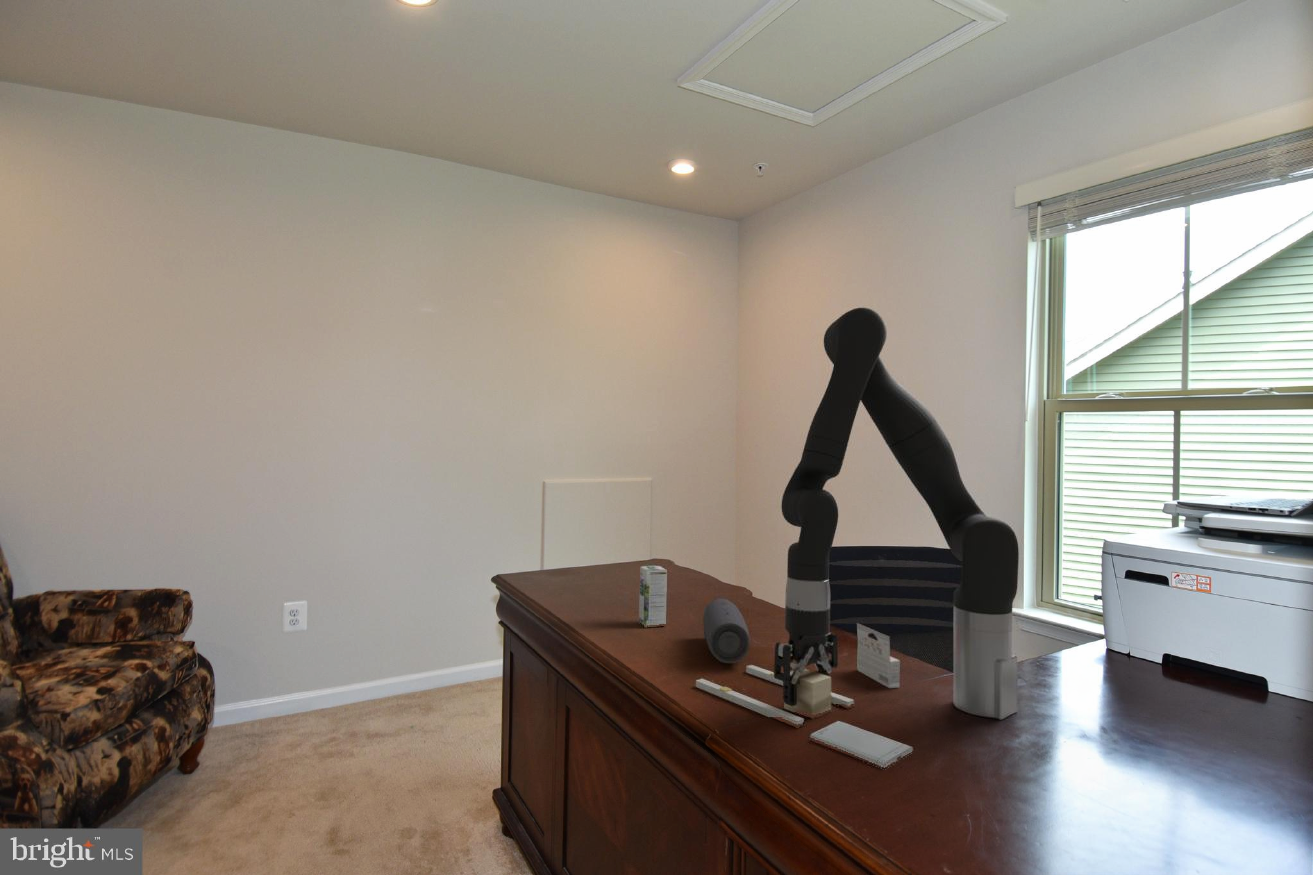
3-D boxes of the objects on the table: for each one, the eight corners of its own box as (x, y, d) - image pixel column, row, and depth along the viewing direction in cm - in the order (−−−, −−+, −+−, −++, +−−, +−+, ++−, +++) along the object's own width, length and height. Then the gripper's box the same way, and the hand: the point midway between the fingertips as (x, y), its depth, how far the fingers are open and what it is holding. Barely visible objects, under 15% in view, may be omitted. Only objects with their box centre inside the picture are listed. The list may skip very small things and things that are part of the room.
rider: (831, 712, 115) (831, 676, 115) (812, 719, 112) (812, 682, 112) (803, 702, 120) (803, 667, 120) (784, 708, 116) (784, 673, 117)
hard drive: (809, 733, 104) (884, 761, 94) (839, 719, 109) (913, 744, 100) (809, 744, 104) (884, 773, 94) (839, 730, 109) (913, 756, 100)
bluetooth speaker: (752, 670, 137) (753, 620, 137) (706, 669, 137) (707, 619, 137) (741, 638, 159) (741, 596, 160) (701, 638, 160) (701, 595, 160)
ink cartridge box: (866, 669, 138) (866, 621, 138) (900, 688, 127) (900, 636, 128) (855, 670, 137) (856, 622, 138) (889, 689, 127) (889, 636, 127)
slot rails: (853, 706, 117) (853, 698, 117) (797, 728, 108) (797, 719, 108) (751, 670, 136) (751, 663, 136) (695, 686, 127) (695, 679, 127)
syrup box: (638, 622, 173) (638, 565, 173) (660, 621, 175) (660, 565, 175) (644, 628, 168) (645, 569, 168) (667, 626, 169) (667, 568, 170)
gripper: (798, 614, 109) (796, 715, 109) (851, 602, 118) (850, 696, 117) (763, 605, 115) (761, 701, 114) (816, 595, 124) (815, 684, 123)
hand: (806, 699), depth 116 cm, fingers open, 8 cm apart
